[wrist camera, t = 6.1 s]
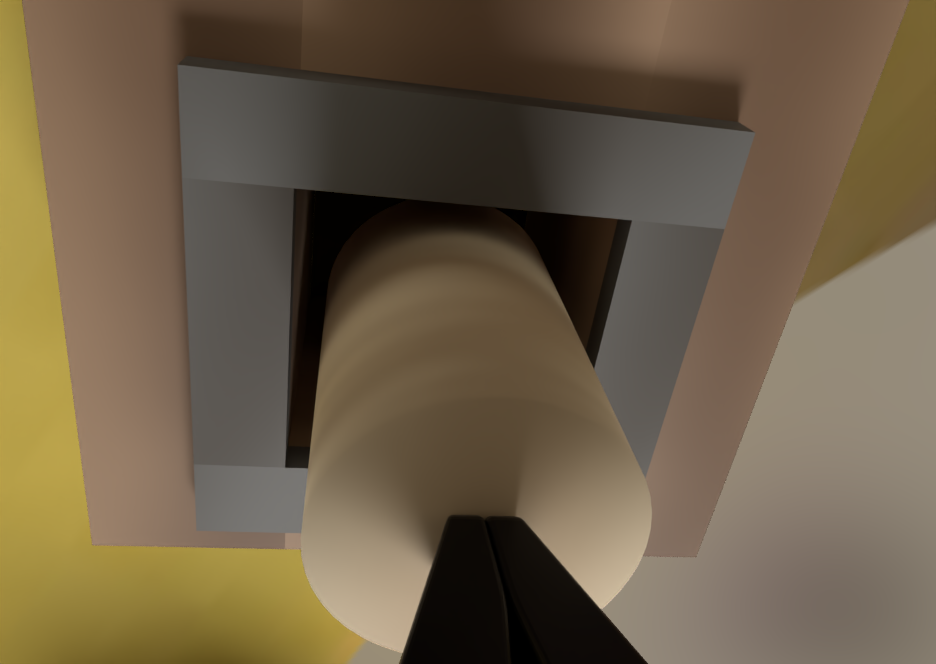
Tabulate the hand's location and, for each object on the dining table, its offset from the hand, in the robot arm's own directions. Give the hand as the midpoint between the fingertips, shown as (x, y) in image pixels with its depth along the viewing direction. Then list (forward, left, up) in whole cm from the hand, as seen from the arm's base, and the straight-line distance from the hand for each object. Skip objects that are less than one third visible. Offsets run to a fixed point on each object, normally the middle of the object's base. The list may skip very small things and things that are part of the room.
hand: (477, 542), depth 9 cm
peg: (0, 0, -7) cm, 7 cm away
